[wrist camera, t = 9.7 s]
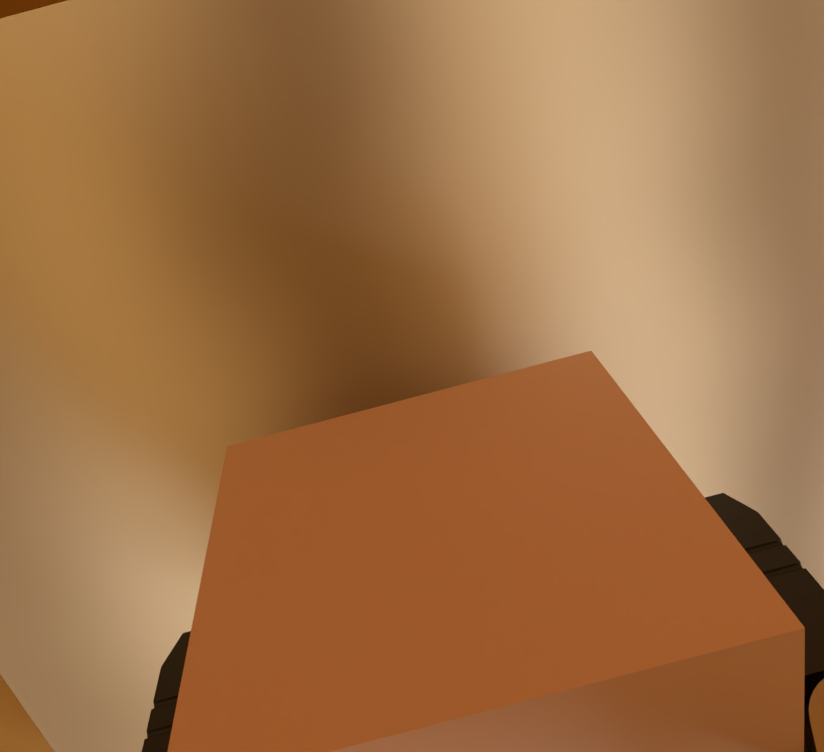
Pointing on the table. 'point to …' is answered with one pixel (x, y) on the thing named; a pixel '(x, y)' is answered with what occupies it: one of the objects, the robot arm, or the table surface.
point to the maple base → (375, 269)
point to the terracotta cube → (483, 587)
